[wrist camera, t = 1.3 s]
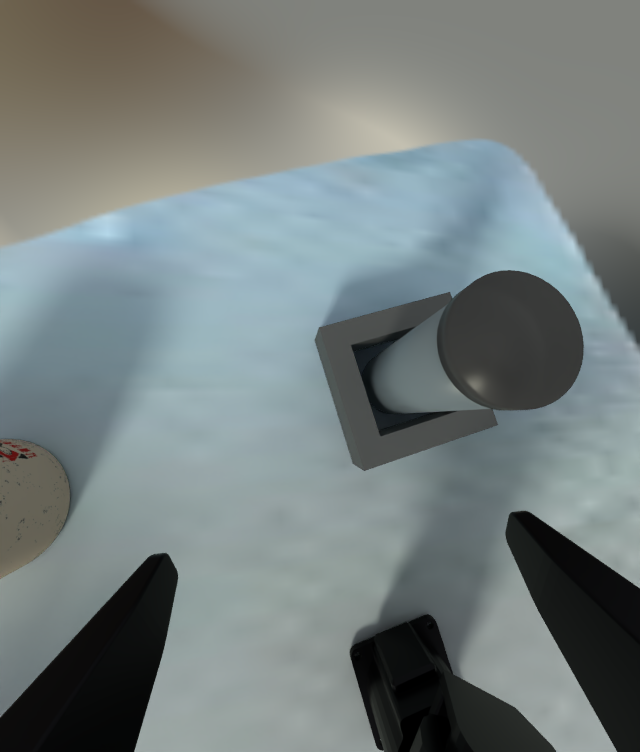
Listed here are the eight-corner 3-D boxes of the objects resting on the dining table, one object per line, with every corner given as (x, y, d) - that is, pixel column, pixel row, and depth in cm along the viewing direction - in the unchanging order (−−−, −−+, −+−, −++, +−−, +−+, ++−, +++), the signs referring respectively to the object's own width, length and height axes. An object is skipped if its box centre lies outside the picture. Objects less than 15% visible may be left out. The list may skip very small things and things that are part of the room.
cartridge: (432, 404, 25) (604, 385, 12) (372, 423, 25) (479, 428, 11) (411, 343, 26) (552, 256, 12) (352, 360, 25) (429, 289, 11)
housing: (469, 424, 26) (498, 424, 22) (353, 463, 24) (364, 470, 21) (428, 308, 27) (449, 292, 23) (314, 340, 25) (318, 327, 22)
